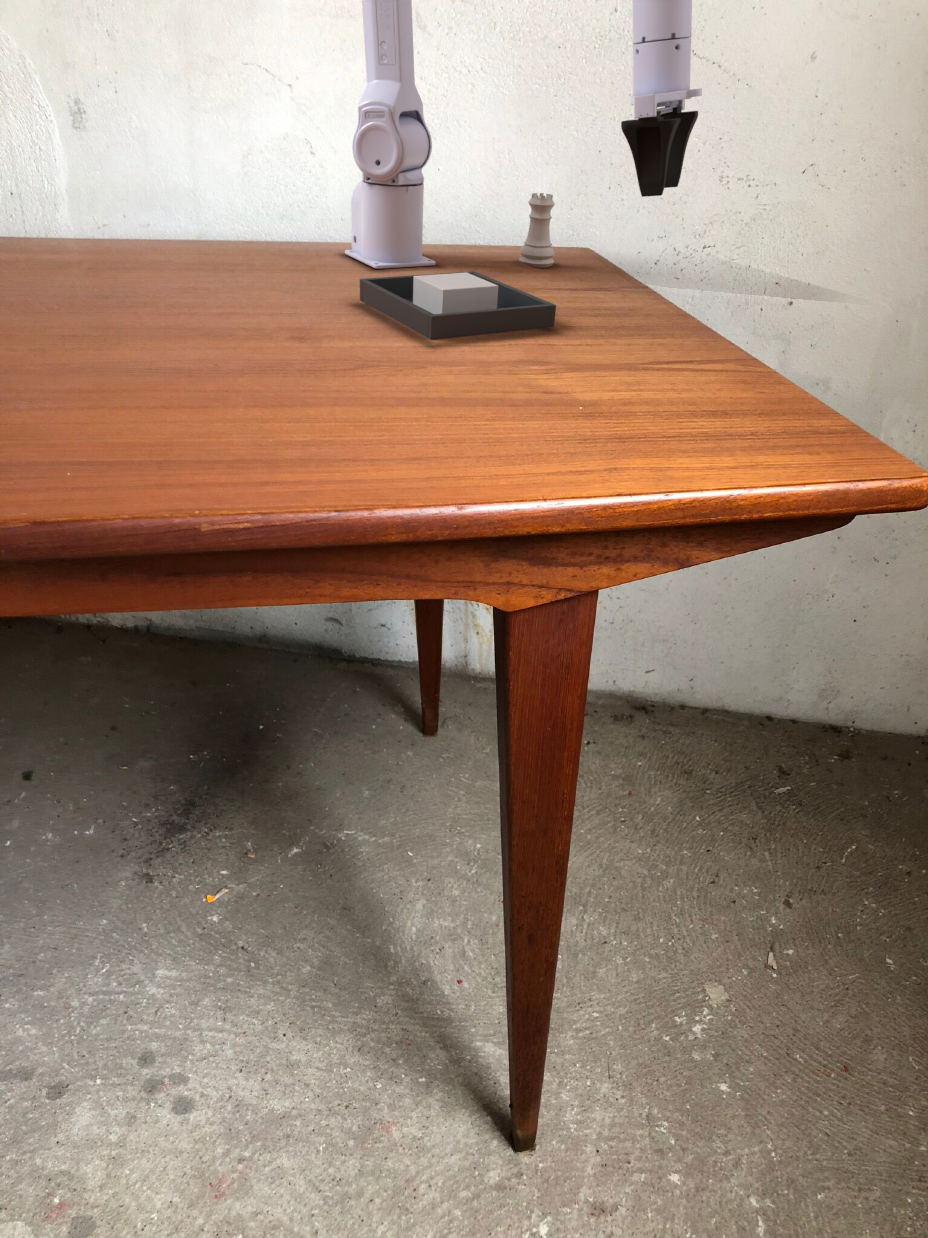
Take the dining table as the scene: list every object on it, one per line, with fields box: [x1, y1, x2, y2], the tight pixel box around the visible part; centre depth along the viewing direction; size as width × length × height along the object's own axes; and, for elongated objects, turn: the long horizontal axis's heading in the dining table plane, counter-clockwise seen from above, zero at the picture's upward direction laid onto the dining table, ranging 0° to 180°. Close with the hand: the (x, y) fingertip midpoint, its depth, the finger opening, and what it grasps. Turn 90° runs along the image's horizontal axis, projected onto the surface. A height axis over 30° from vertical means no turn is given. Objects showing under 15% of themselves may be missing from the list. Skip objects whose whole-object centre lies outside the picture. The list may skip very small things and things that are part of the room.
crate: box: [359, 270, 557, 341], centre depth 88 cm, size 15×13×3 cm
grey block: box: [413, 271, 498, 314], centre depth 87 cm, size 6×6×3 cm
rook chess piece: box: [518, 192, 556, 269], centre depth 111 cm, size 4×4×8 cm
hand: (660, 191), depth 97 cm, fingers open, 7 cm apart
